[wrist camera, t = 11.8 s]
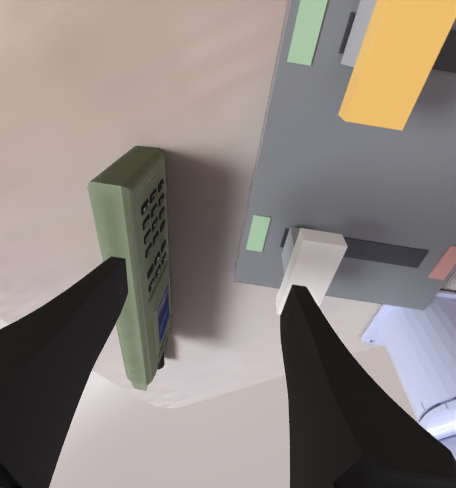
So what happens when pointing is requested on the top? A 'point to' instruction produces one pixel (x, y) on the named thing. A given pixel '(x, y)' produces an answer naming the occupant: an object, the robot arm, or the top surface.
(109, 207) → the handheld radio
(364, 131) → the switch panel
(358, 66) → the amber switch
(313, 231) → the white switch
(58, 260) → the top surface
